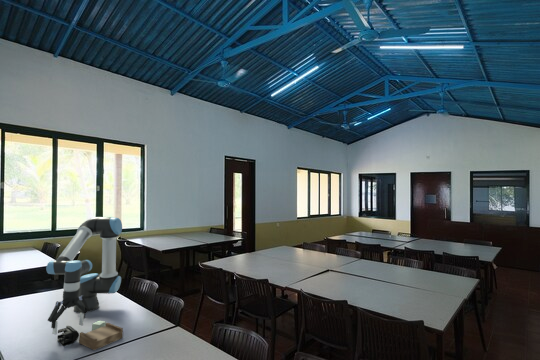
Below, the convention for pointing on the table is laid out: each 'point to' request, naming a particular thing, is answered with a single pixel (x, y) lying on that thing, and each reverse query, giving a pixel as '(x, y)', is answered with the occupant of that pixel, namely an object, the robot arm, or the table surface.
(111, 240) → the robot arm
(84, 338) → the pedestal
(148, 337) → the table surface
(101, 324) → the sage cube
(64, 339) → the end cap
